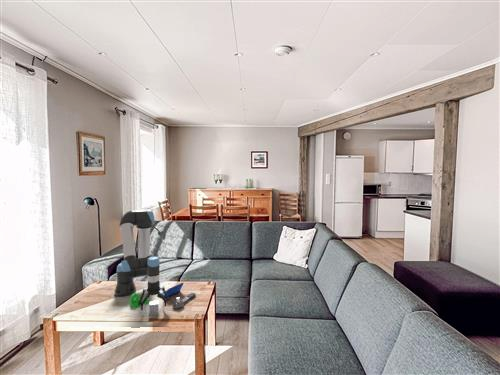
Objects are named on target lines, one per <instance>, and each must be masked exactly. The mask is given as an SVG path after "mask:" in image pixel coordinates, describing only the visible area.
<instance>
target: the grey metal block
mask: <svg viewBox="0 0 500 375" xmlns="http://www.w3.org/2000/svg"><path fill="white" fill-rule="evenodd" d="M148 305H149V308H148V309H149V311H148V312H149V314H148V315H149V316H150V317H151V316H156V315H159V310H160V309H159V299H158V300H151V301H150V300H149V303H148Z"/></svg>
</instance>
